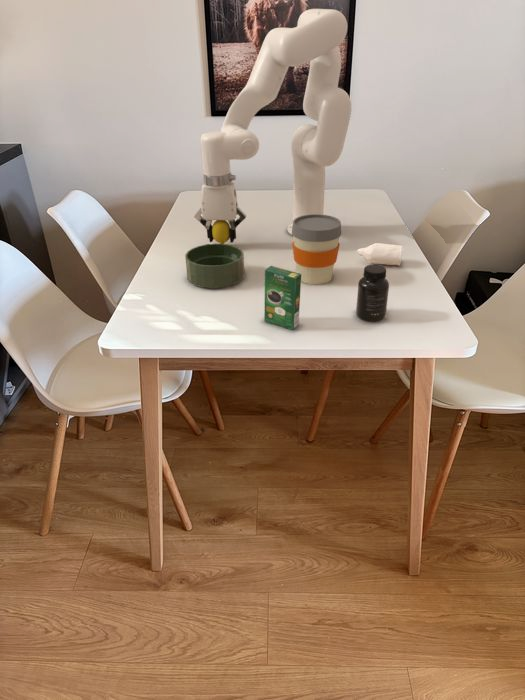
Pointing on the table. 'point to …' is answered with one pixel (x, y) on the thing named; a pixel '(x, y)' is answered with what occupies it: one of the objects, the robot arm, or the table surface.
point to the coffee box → (282, 297)
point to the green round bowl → (215, 265)
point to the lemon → (221, 231)
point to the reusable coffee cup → (316, 246)
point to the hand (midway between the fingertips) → (222, 240)
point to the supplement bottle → (372, 294)
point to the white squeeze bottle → (382, 253)
